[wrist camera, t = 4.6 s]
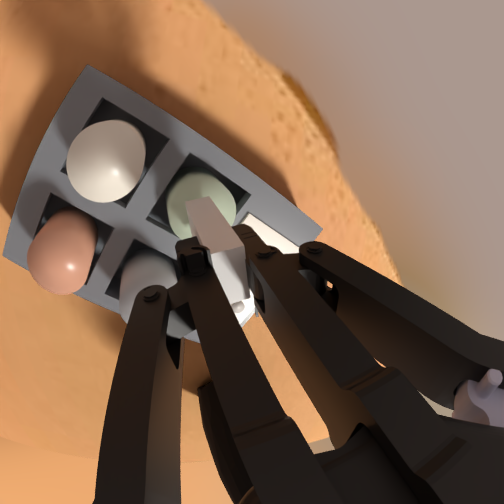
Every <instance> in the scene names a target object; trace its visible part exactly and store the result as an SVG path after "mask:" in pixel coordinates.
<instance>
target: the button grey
mask: <svg viewBox="0 0 504 504" xmlns="http://www.w3.org/2000/svg"><path fill="white" fill-rule="evenodd" d="M176 283H177V277H176V272H175V267H174V264H173V262H172V260H171V259H170V258H169V257H168V256H167V255H166V254H164V253H162V252H160V251H158V250H156V249H141V250H138V251H136V252H134V253H132V254H131V255H130V256H128V258H127V259H126V260H125V262H124V264H123V267H122V275H121V285H120V297H119V312H120V315H121V317H122V319H123V320H124V321H125V322H126V323H128V320H129V316H130V313H131V310H132V307H133V303H134V300H135V297H136V295H137V294H138V292H139V291H141V290H142V289H143V288H145V287H147V286H151V285H162V286H164V287H165V288H166V289H168V288H170V287H172V286H173V285H175V284H176Z"/></svg>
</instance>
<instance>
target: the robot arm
mask: <svg viewBox="0 0 504 504" xmlns="http://www.w3.org/2000/svg"><path fill="white" fill-rule="evenodd" d="M185 205H186V210H187V215H188V220H189V225H190V229H191V234H192V237H190V238H187V239H183V240H179V241H177V243H176V245H175V250H176V254H177V262H178V265H179V269H180V273H181V277H180V280H179V281H178V282H177V283H176V284H175V285H173V286H172V287H170V288H168V289H166V288H165V287H164V286H162V285H151V286H147V287H145V288H143V289H142V290H141V291H139V292H138V294H137V295H136V297H135V300H134V303H133V307H132V310H131V313H130V316H129V320H128V323H127V327H126V330H125V334H124V337H123V341H122V345H121V349H120V352H119V356H118V360H117V364H116V368H115V373H114V377H113V381H112V386H111V390H110V395H109V400H108V405H107V410H106V415H105V421H104V426H103V432H102V439H101V445H100V452H99V461H98V469H97V478H96V489H95V499H94V501H93V503H92V504H181V481H180V428H181V396H182V375H183V358H184V344H185V339H184V336H185V335H187V334H189V333H191V332H192V331H194V330H197V334H198V337H199V340H200V344H201V347H202V350H203V353H204V356H205V359H206V363H207V366H208V369H209V372H210V375H211V378H212V381H213V384H214V386H215V389H216V392H217V395H218V398H219V401H220V403H221V406H222V409H223V412H224V414H225V417H226V420H227V422H228V425H229V427H230V430H231V433H232V435H233V439H234V441H235V444H236V447H237V449H238V452H239V454H240V456H241V459H242V461H243V463H244V466H245V468H246V470H247V473H248V475H249V477H250V480H251V482H252V484H253V487H252V488H251V489H250V490H249V491H248V492H247V493H246V494H245V495H244V497H243V498H242V499H241V501H240V503H239V504H504V341H501V340H497V339H494V338H491V337H488V336H485V335H481V334H479V333H478V332H476V331H475V330H473V329H471V328H470V327H468V326H467V325H465V324H463V323H462V322H460V321H459V320H457V319H455V318H453V317H452V316H451V315H449V314H447V313H446V312H444V311H442V310H441V309H439V308H437V307H436V306H434V305H432V304H431V303H429V302H428V301H426V300H424V299H423V298H421V297H419V296H418V295H416V294H414V293H412V292H411V291H409V290H407V289H406V288H404V287H402V286H400V285H399V284H397V283H395V282H394V281H392V280H390V279H388V278H387V277H385V276H383V275H381V274H379V273H378V272H376V271H374V270H372V269H371V268H369V267H367V266H365V265H363V264H362V263H360V262H358V261H356V260H354V259H352V258H351V257H349V256H347V255H345V254H343V253H341V252H340V251H338V250H336V249H334V248H332V247H330V246H328V245H327V244H324V243H322V242H317V241H309V242H306V243H303V244H302V245H300V247H299V253H290V254H283V253H282V252H281V251H280V250H279V249H278V248H276V247H274V246H271V245H266V244H265V242H264V241H263V240H262V239H261V238H260V237H259V235H258V234H257V233H256V232H255V231H254V230H253V228H252V227H251V226H248V225H246V224H240V225H236V226H230V225H229V223H228V222H227V220H226V219H225V218H224V216H223V215H222V213H221V212H220V210H219V209H218V208H217V206H216V205H215V203H214V202H213V201H212V199H211V198H210V196H207V197H203V198H199V199H194V200H190V201H186V202H185ZM327 281H329V282H330V283H332V284H333V287H332V288H330V287H328V286H327ZM250 290H251V292H252V294H253V298H254V306H255V314H256V317H259V316H258V312H259V313H260V315H261V317H262V318H263V320H264V322H265V324H266V325H267V327H268V329H269V331H270V332H271V334H272V336H273V337H274V339H275V341H276V343H277V344H278V346H279V348H280V349H281V351H282V353H283V355H284V356H285V358H286V360H287V361H288V363H289V365H290V366H291V368H292V370H293V371H294V373H295V375H296V376H297V378H298V380H299V381H300V383H301V385H302V386H303V388H304V390H305V391H306V393H307V395H308V396H309V398H310V400H311V401H312V403H313V405H314V406H315V408H316V410H317V411H318V413H319V414H320V416H321V418H322V419H323V421H324V423H325V424H326V426H327V428H328V431H329V436H330V440H331V442H332V444H333V446H334V448H335V450H331V451H327V452H323V453H318V454H313V452H312V450H311V449H310V447H309V445H308V443H307V442H306V440H305V438H304V436H303V435H302V433H301V431H300V429H299V428H298V426H297V424H296V423H295V421H294V420H293V419H292V418H291V417H289V416H287V415H286V414H285V412H284V410H283V409H282V407H281V405H280V403H279V401H278V399H277V397H276V395H275V393H274V391H273V390H272V388H271V386H270V384H269V382H268V380H267V378H266V376H265V374H264V372H263V370H262V368H261V366H260V364H259V362H258V360H257V358H256V356H255V354H254V352H253V350H252V348H251V346H250V344H249V342H248V340H247V338H246V336H245V334H244V332H243V330H242V328H241V326H240V324H239V321H238V319H237V317H236V315H235V313H234V311H233V309H232V307H231V305H230V304H232V303H236V302H239V301H242V300H246V299H249V298H251V296H250ZM374 358H375V359H376V360H377V361H379V362H380V363H381V364H383V365H384V366H385V368H384V367H382V366H380V365H379V364H378V363H377V361H376V360H375V359H374ZM417 390H418V391H419V392H421V393H422V394H423V395H424V396H426V397H427V398H429V399H431V400H432V401H434V402H436V403H438V404H440V405H442V406H444V407H446V408H449V409H452V410H454V411H453V413H452V418H451V417H446V416H442V415H438V414H437V413H436V412H435V411H434V410H433V408H432V407H431V406H430V405H429V404H428V403H427V401H426V400H425V399H424V398H423V396H422V395H421V394H420V393H419V392H418V391H417Z"/></svg>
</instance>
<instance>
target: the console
mask: <svg viewBox="0 0 504 504" xmlns="http://www.w3.org/2000/svg"><path fill="white" fill-rule="evenodd" d="M114 119H122V120H126V121H129V122H131V123H133V124H134V125H136V126H137V127H138V128H139V129H140V131H141V132H142V134H143V136H144V138H145V142H146V155H145V161H144V167H143V171H142V174H141V177H140V179H139V181H138V183H137V184H136V186H135V187H134V188H133V189H132V190H131V191H130V192H129V193H128V194H127V195H125V196H124V197H122V198H120V199H118V200H115V201H112V202H105V203H101V202H94V201H91V200H88V199H86V198H84V197H83V196H81V195H80V194H79V193H78V192H77V191H76V190H75V189H74V187H73V186H72V184H71V182H70V180H69V178H68V174H67V168H66V161H67V154H68V151H69V148H70V146H71V144H72V142H73V141H74V139H75V138H76V137H77V135H78V134H79V133H80V132H81V131H83V130H84V129H85V128H87V127H89V126H90V125H93V124H95V123H99V122H103V121H108V120H114ZM187 167H202V168H205V169H207V170H209V171H210V172H211V173H212V174H213V175H214V176H215V177H216V178H217V179H218V180H219V181H220V182H221V183H222V184H223V185H224V186H225V187H226V188H227V189H228V190H229V191H230V193H231V194H232V196H233V198H234V201H235V204H236V216H235V220H234V223H233V225H232V226H236V225H240V224H246V225H248V226H251V227H252V228H253V230H254V231H255V232H256V233H257V234H258V235H259V237H260V238H261V239H262V240H263V241H264V242H265V244H266V245H271V246H274V247H276V248H278V249H279V250H280V251H281V252H282V253H283V254H290V253H299V247H300V245H302V244H303V243H306V242H309V241H314V240H315V239H316V237H317V236H318V235H319V234H320V232H321V231H322V230H323V228H321V227H320V226H319V225H318V224H317V223H315V222H314V221H313V220H312V219H311V218H309V217H308V216H307V215H306V214H305V213H303V212H302V211H301V210H300V209H298V208H297V207H296V206H295V205H293V204H292V203H291V202H290V201H288V200H287V199H286V198H285V197H283V196H282V195H281V194H280V193H278V192H277V191H276V190H275V189H273V188H272V187H271V186H269V185H268V184H267V183H265V182H264V181H263V180H262V179H260V178H259V177H258V176H256V175H255V174H254V173H252V172H251V171H250V170H248V169H247V168H246V167H244V166H243V165H242V164H240V163H239V162H238V161H236V160H235V159H234V158H232V157H231V156H229V155H228V154H227V153H225V152H224V151H223V150H221V149H220V148H218V147H217V146H216V145H214V144H213V143H211V142H210V141H208V140H207V139H206V138H204V137H203V136H201V135H200V134H198V133H197V132H196V131H194V130H193V129H191V128H190V127H188V126H187V125H185V124H184V123H182V122H181V121H179V120H178V119H176V118H175V117H173V116H172V115H170V114H169V113H167V112H166V111H164V110H163V109H161V108H160V107H158V106H156V105H155V104H153V103H152V102H150V101H149V100H147V99H145V98H144V97H142V96H141V95H139V94H137V93H136V92H134V91H133V90H131V89H129V88H128V87H126V86H124V85H123V84H121V83H119V82H118V81H116V80H114V79H112V78H111V77H109V76H107V75H106V74H104V73H102V72H100V71H99V70H97V69H95V68H93V67H91V66H90V65H88V64H87V65H86V67H85V68H84V70H83V71H82V73H81V74H80V75H79V77H78V78H77V80H76V81H75V83H74V84H73V86H72V88H71V89H70V91H69V92H68V94H67V95H66V97H65V99H64V100H63V102H62V104H61V105H60V107H59V109H58V111H57V112H56V114H55V116H54V118H53V120H52V122H51V123H50V125H49V127H48V129H47V131H46V133H45V135H44V137H43V139H42V141H41V143H40V145H39V148H38V150H37V152H36V154H35V156H34V159H33V161H32V163H31V166H30V168H29V171H28V173H27V176H26V178H25V181H24V183H23V186H22V189H21V192H20V195H19V197H18V200H17V203H16V206H15V210H14V213H13V216H12V220H11V223H10V227H9V230H8V234H7V238H6V242H5V247H4V251H3V256H4V257H6V258H7V259H9V260H11V261H12V262H14V263H16V264H18V265H19V266H21V267H23V268H25V269H26V270H28V271H29V268H28V264H27V252H28V249H29V246H30V244H31V243H32V241H33V240H34V238H35V237H36V236H37V234H38V233H39V231H40V230H41V229H42V227H43V226H44V225H45V224H46V222H47V221H48V220H49V218H50V217H51V216H52V215H53V214H54V213H55V212H56V211H57V210H59V209H61V208H63V207H68V206H73V207H77V208H79V209H81V210H83V211H84V212H86V213H88V214H89V215H90V216H91V217H92V218H93V220H94V221H95V223H96V226H97V229H98V242H97V246H96V249H95V252H94V255H93V259H92V262H91V266H90V269H89V273H88V276H87V279H86V281H85V283H84V285H83V286H82V287H81V288H80V289H79V290H77V291H76V292H74V293H73V294H75V295H77V296H79V297H82V298H84V299H86V300H88V301H90V302H93V303H95V304H97V305H99V306H102V307H104V308H106V309H109V310H111V311H113V312H116V313H118V314H120V312H119V297H120V285H121V275H122V267H123V264H124V262H125V260H126V259H127V258H128V256H130V255H131V254H132V253H134V252H136V251H138V250H141V249H156V250H158V251H160V252H162V253H164V254H166V255H167V256H168V257H169V258H170V259H171V260H172V262H173V264H174V267H175V272H176V277H177V282H178V281H179V280H180V277H181V273H180V269H179V265H178V262H177V254H176V250H175V245H176V243H177V241H179V240H182V239H180V238H179V237H178V236H177V235H176V234H175V233H174V231H173V230H172V228H171V225H170V222H169V217H168V211H167V205H166V199H165V190H166V186H167V185H168V183H169V182H170V180H171V179H172V177H173V176H174V174H175V173H177V172H178V171H180V170H182V169H184V168H187ZM250 296H251V298H249V299H246V300H242V301H239V302H236V303H232V304H230V305H231V307H232V309H233V311H234V313H235V315H236V317H237V319H238V321H239V324H240V326H241V328H242V327H243V325H244V324H245V323H246V322H247V321H248V320H249V319H250V317H251V316H252V315H253V314H254V313H255V306H254V298H253V294H252V292H251V290H250ZM184 338H186V339H189V340H192V341H195V342H198V343H200V340H199V337H198V334H197V330H194V331H192V332H191V333H189V334H187V335H185V336H184Z"/></svg>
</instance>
